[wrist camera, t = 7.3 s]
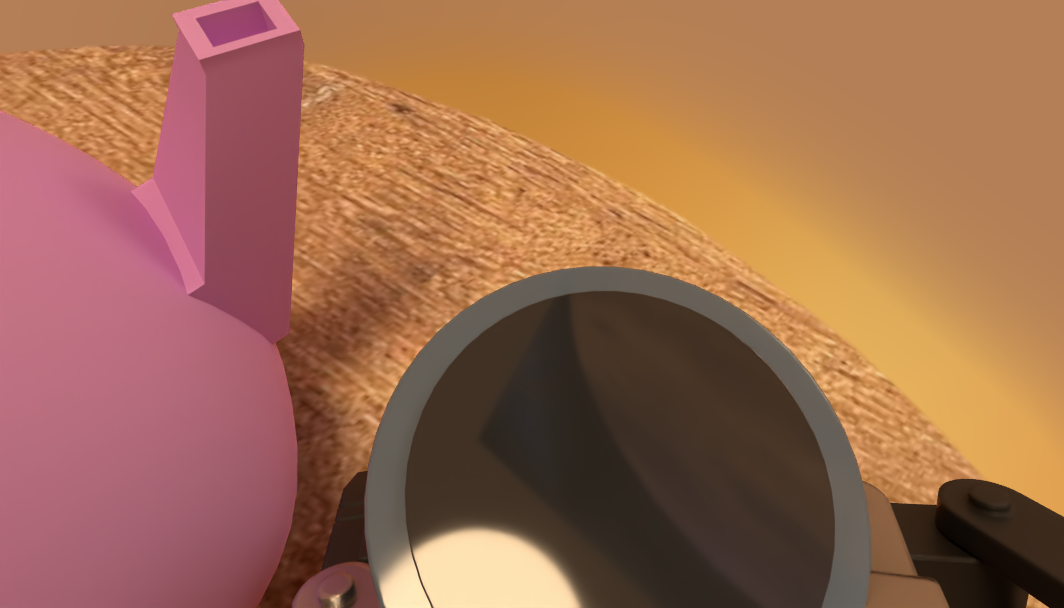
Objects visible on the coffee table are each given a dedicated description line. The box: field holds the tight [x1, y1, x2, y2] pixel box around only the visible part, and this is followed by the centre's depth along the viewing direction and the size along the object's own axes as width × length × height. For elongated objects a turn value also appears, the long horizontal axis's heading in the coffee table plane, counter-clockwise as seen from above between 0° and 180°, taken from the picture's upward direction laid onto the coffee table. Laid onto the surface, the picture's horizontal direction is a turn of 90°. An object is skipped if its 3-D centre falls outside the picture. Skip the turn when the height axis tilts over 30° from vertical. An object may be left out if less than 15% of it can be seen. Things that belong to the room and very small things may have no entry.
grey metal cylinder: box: [364, 267, 871, 608], centre depth 12 cm, size 6×6×12 cm
